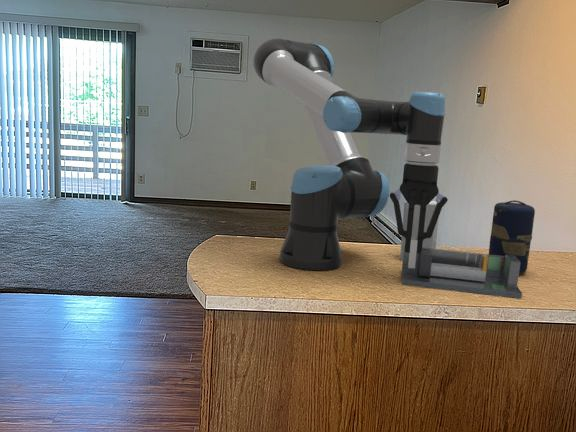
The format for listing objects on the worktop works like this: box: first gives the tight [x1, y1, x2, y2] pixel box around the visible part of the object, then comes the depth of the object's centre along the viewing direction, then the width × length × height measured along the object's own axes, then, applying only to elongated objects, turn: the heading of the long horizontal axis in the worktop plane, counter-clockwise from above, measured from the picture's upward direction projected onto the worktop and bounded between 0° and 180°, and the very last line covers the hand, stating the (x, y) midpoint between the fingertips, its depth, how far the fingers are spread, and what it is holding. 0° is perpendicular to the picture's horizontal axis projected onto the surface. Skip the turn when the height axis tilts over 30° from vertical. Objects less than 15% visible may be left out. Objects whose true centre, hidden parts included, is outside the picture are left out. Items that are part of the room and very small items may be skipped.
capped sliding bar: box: [418, 249, 488, 282], centre depth 127 cm, size 14×5×6 cm, turn 79°
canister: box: [488, 199, 536, 274], centre depth 140 cm, size 10×10×18 cm
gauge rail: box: [401, 246, 523, 299], centre depth 127 cm, size 25×12×7 cm, turn 79°
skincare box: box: [399, 200, 439, 260], centre depth 146 cm, size 8×7×16 cm
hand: (411, 266), depth 129 cm, fingers closed
